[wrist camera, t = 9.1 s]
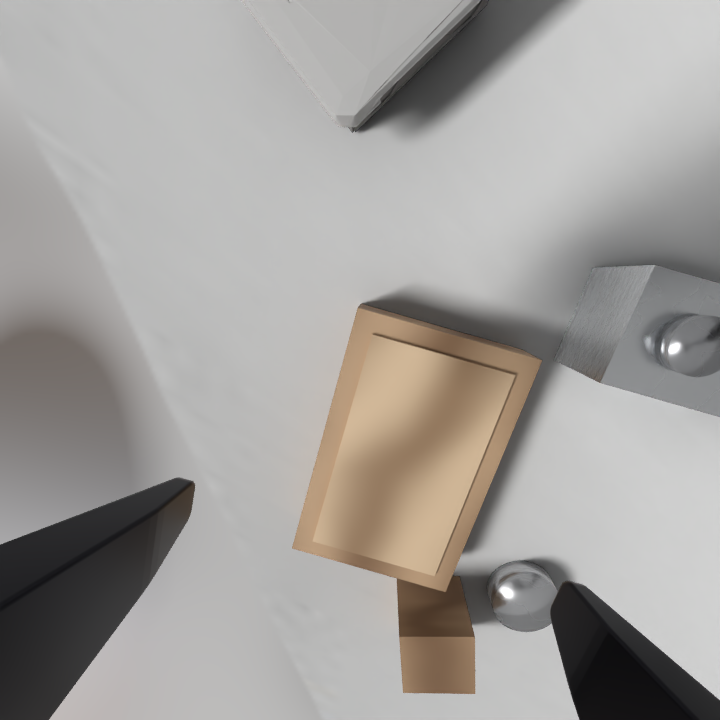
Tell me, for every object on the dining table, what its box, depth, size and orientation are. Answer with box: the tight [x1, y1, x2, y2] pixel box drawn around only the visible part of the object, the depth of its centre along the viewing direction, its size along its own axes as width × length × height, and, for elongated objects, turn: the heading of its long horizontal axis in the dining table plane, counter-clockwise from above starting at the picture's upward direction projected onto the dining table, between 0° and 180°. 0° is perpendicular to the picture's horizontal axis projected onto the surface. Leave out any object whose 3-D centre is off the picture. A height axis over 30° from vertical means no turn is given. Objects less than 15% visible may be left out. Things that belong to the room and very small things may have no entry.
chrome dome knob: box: [487, 561, 558, 632], centre depth 22 cm, size 4×4×2 cm
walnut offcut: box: [397, 576, 475, 694], centre depth 21 cm, size 4×4×4 cm
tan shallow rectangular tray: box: [292, 304, 542, 592], centre depth 19 cm, size 9×14×3 cm, turn 165°
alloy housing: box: [554, 265, 720, 417], centre depth 16 cm, size 8×5×5 cm, turn 75°
